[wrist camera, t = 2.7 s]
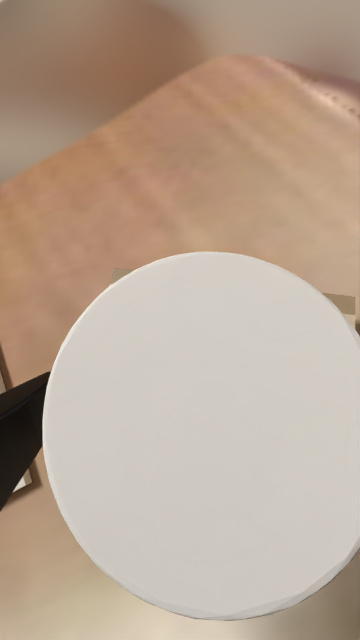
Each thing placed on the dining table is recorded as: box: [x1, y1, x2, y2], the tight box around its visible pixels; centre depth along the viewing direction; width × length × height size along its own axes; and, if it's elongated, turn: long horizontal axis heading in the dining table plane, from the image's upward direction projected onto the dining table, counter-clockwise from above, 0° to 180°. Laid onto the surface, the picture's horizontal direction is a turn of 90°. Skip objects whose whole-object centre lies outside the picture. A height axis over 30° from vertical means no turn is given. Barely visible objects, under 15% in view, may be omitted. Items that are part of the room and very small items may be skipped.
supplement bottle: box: [43, 252, 360, 621], centre depth 10 cm, size 7×7×13 cm
